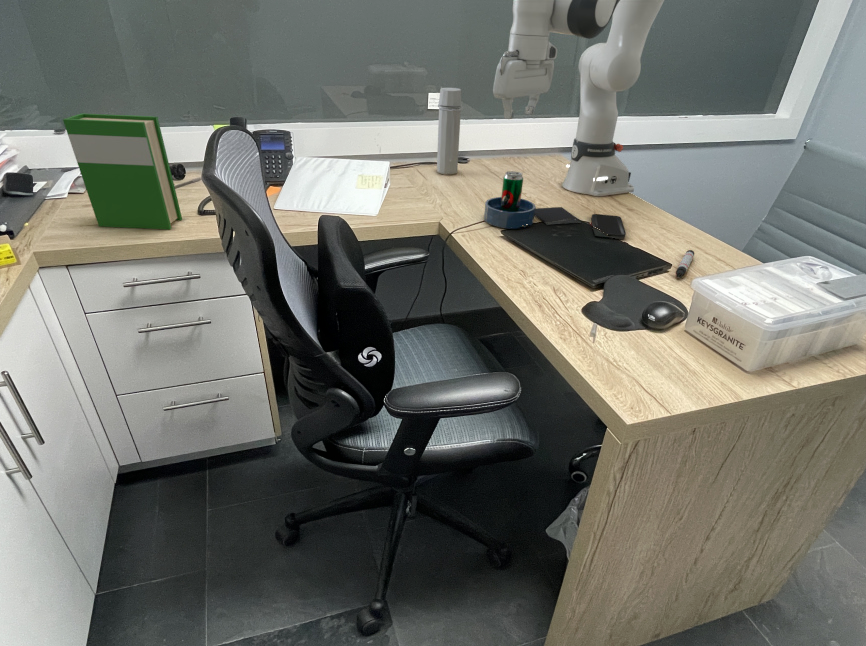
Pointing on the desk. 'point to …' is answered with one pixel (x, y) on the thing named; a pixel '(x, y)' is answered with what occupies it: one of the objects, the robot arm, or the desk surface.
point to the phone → (609, 225)
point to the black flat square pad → (553, 214)
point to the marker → (684, 263)
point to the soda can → (511, 191)
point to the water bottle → (448, 130)
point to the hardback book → (124, 170)
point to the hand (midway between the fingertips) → (519, 116)
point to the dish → (509, 214)
